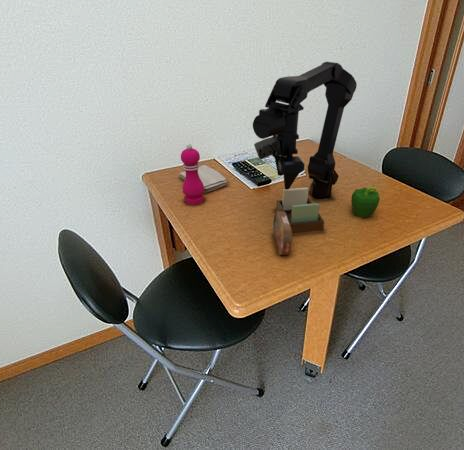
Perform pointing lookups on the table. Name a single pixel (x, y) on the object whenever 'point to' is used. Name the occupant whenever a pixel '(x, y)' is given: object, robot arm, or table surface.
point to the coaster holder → (302, 226)
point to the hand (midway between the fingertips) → (283, 182)
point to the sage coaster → (304, 212)
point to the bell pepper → (365, 202)
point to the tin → (282, 232)
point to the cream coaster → (294, 197)
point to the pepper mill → (192, 176)
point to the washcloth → (209, 178)
